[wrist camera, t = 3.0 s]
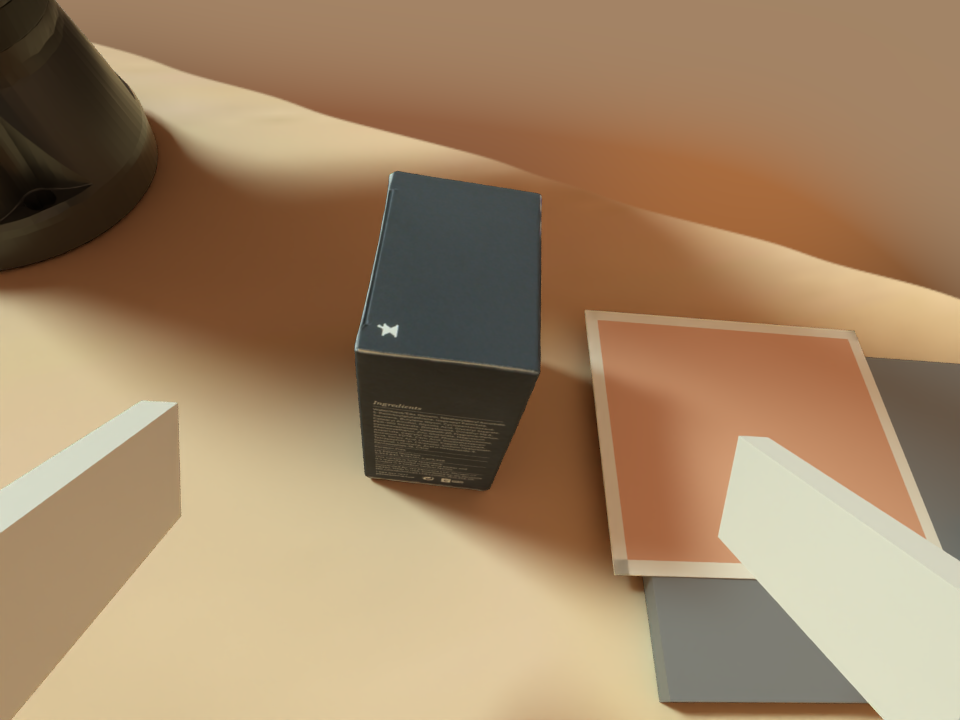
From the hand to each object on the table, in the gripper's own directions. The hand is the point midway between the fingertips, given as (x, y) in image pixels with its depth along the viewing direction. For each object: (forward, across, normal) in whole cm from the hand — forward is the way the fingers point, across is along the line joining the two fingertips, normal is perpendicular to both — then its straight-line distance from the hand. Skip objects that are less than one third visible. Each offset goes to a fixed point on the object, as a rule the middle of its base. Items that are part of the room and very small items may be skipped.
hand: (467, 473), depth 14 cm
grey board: (+11, +20, -5) cm, 24 cm away
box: (+14, 0, -3) cm, 14 cm away
